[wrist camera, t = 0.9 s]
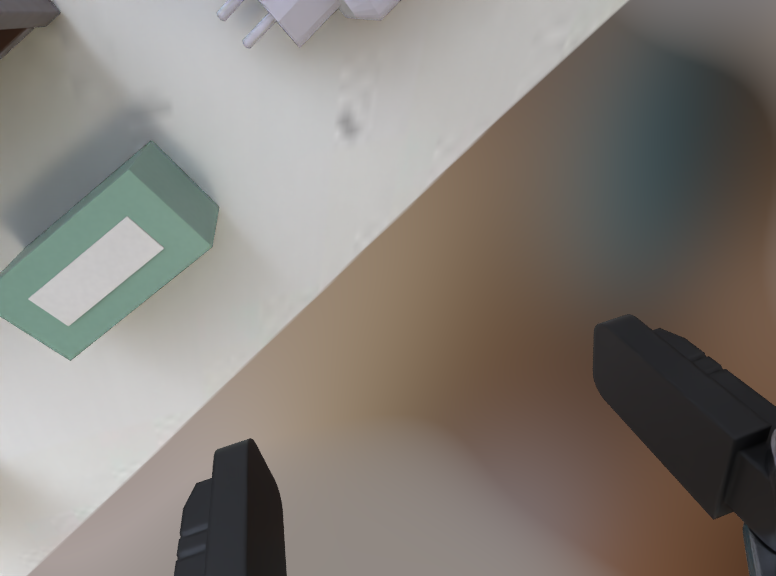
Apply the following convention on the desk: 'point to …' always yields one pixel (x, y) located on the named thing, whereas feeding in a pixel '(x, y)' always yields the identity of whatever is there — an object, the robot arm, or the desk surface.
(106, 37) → the desk surface
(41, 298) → the tissue box
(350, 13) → the charger
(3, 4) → the box
